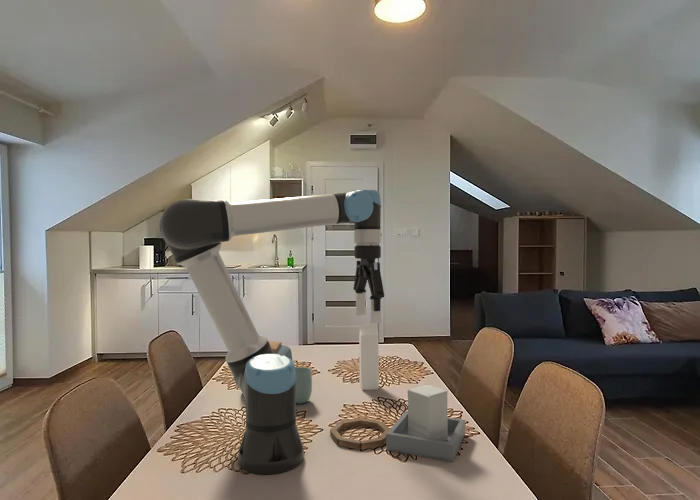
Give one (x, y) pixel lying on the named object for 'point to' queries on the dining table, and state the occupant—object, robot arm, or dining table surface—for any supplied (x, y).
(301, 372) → the cup
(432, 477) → the dining table surface
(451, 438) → the bin
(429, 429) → the supplement box
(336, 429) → the ring
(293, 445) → the robot arm
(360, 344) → the milk
